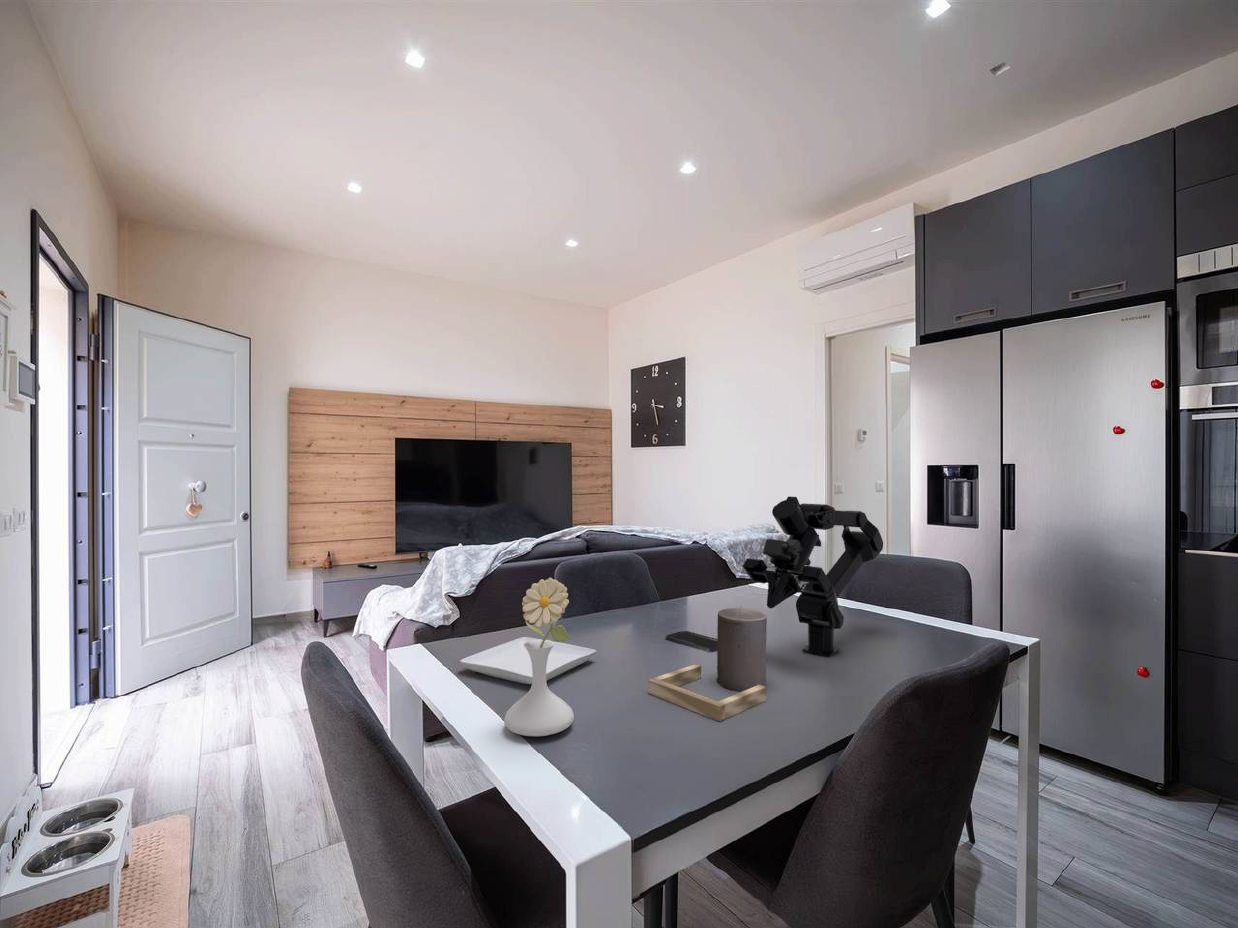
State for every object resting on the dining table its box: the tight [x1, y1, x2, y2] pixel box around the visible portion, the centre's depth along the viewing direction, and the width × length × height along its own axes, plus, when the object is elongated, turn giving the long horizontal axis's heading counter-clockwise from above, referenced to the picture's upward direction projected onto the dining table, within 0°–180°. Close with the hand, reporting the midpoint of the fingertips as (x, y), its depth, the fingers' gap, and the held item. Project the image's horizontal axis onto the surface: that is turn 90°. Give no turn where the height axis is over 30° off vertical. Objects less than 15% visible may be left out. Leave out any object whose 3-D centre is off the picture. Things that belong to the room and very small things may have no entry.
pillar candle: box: [716, 606, 768, 692], centre depth 118 cm, size 10×10×15 cm
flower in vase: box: [503, 577, 575, 737], centre depth 98 cm, size 13×11×25 cm
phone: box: [665, 630, 717, 653], centre depth 145 cm, size 8×1×15 cm
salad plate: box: [459, 636, 597, 686], centre depth 127 cm, size 21×21×3 cm
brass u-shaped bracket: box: [647, 663, 767, 722], centre depth 111 cm, size 14×17×2 cm
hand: (769, 607), depth 125 cm, fingers closed
